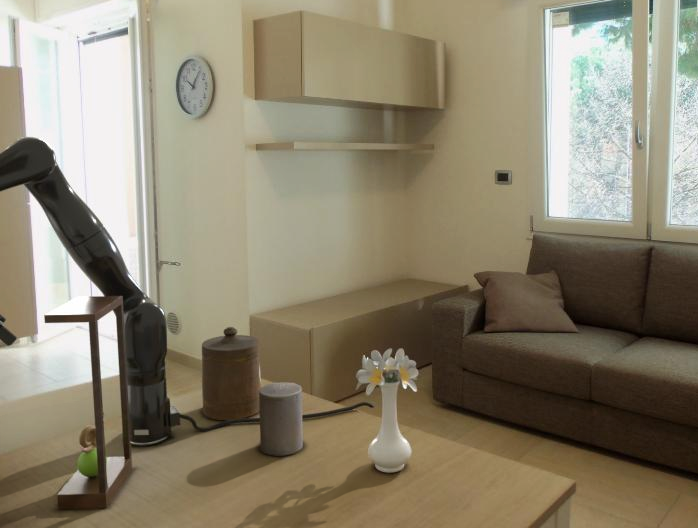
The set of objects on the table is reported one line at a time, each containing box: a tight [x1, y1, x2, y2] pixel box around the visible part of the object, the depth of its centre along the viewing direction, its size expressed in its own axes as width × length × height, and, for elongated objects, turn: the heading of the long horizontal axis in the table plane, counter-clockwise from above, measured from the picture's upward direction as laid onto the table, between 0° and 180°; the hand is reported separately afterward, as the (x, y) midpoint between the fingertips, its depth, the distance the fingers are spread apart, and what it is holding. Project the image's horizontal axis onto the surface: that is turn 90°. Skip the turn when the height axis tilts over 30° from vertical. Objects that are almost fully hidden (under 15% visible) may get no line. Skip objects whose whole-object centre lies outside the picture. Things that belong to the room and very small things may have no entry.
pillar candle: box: [258, 381, 304, 457], centre depth 155 cm, size 10×10×15 cm
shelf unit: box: [43, 295, 133, 511], centre depth 135 cm, size 9×16×38 cm, turn 3°
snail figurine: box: [76, 411, 107, 477], centre depth 136 cm, size 5×6×12 cm
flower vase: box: [355, 348, 420, 474], centre depth 145 cm, size 13×18×25 cm
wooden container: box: [201, 326, 262, 421], centre depth 177 cm, size 15×15×22 cm
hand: (3, 348), depth 135 cm, fingers open, 8 cm apart
